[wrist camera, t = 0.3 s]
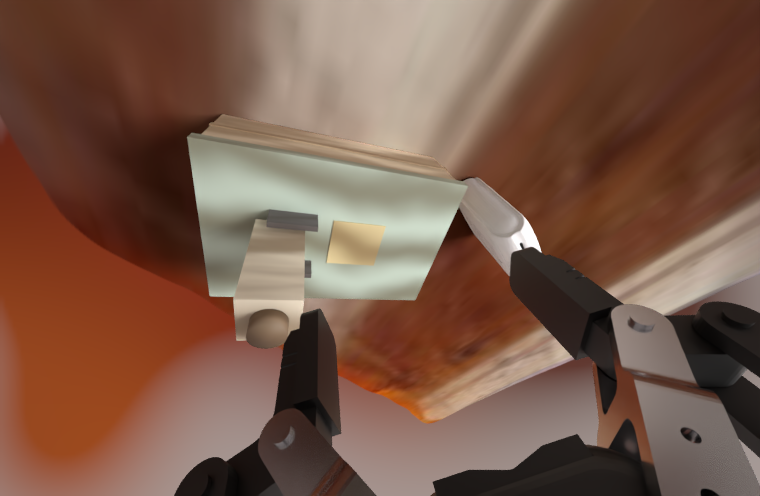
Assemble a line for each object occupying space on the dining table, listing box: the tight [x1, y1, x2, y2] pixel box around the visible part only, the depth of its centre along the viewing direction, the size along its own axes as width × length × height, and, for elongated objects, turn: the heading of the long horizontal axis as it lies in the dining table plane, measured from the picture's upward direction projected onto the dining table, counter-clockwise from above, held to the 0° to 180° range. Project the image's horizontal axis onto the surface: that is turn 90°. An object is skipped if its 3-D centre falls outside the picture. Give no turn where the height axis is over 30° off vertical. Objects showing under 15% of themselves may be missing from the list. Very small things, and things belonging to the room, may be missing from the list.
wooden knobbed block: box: [233, 219, 305, 349], centre depth 21 cm, size 4×4×10 cm
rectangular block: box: [187, 114, 468, 300], centre depth 29 cm, size 16×23×10 cm
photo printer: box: [459, 177, 541, 276], centre depth 33 cm, size 10×4×12 cm, turn 34°
